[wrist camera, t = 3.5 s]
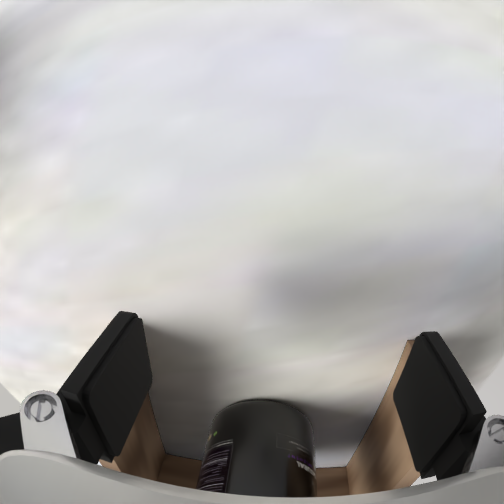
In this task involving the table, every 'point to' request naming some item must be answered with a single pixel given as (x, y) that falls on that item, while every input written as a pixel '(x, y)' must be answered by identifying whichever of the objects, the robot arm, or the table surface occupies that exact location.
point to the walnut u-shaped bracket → (328, 479)
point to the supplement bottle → (260, 452)
